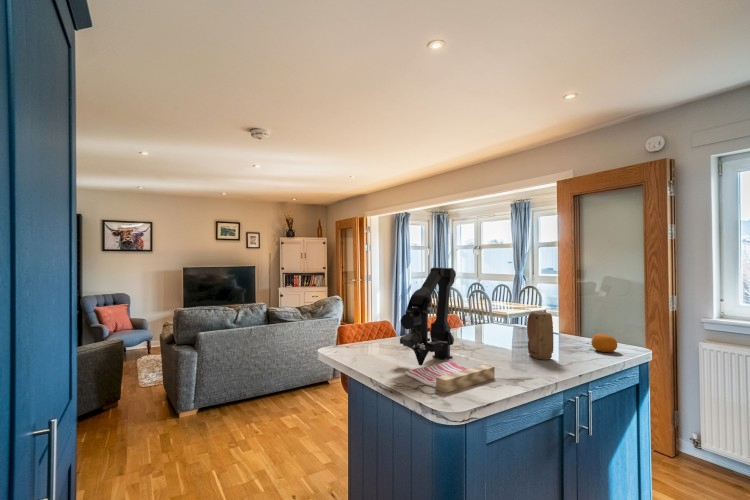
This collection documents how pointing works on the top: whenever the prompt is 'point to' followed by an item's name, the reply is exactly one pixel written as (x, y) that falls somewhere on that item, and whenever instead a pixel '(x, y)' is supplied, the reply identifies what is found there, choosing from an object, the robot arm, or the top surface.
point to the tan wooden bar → (464, 378)
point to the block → (540, 335)
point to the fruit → (604, 343)
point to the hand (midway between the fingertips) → (420, 365)
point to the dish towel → (433, 372)
